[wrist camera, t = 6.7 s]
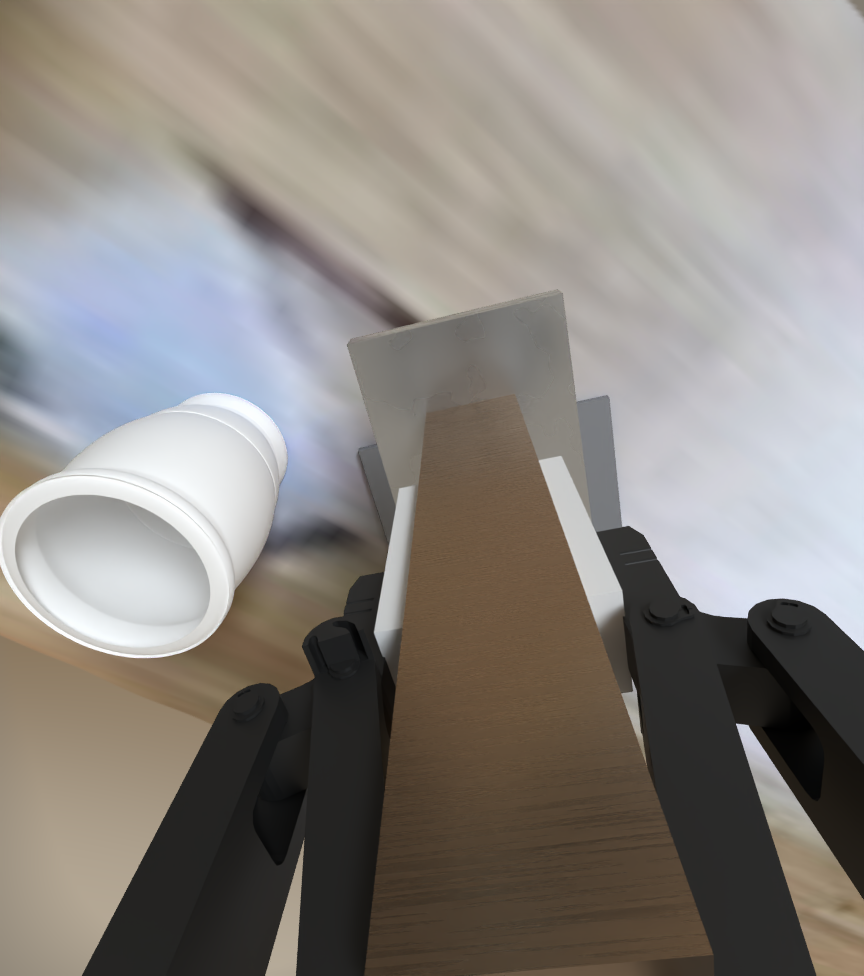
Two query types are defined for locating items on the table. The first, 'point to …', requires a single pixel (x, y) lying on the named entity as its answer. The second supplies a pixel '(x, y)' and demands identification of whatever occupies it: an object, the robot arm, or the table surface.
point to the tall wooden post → (507, 682)
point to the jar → (148, 528)
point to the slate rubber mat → (596, 461)
